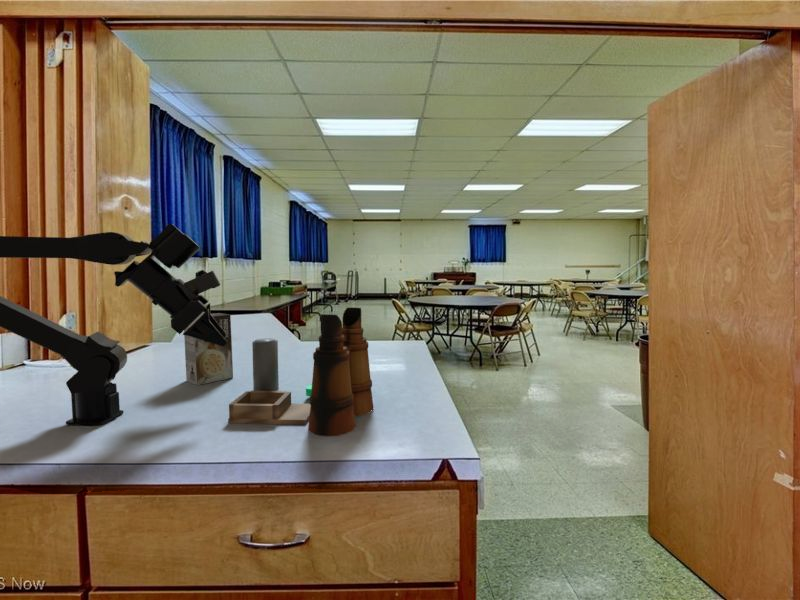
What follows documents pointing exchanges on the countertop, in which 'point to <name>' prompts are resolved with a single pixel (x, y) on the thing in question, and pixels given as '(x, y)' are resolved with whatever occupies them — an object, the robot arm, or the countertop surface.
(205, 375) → the coffee box
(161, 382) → the countertop surface
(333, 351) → the binoculars
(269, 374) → the grey round-topped cylinder
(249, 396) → the brown square-cornered frame
